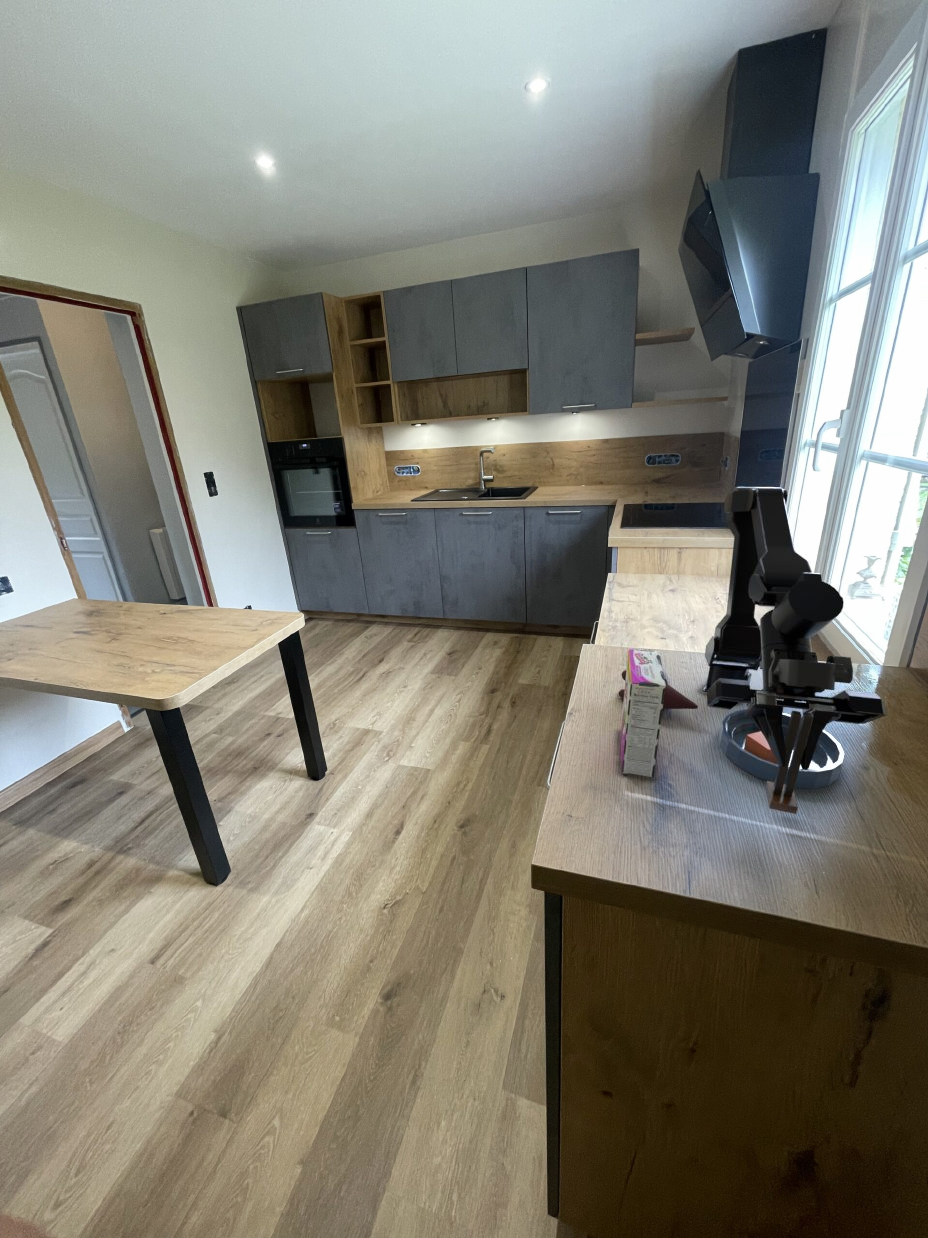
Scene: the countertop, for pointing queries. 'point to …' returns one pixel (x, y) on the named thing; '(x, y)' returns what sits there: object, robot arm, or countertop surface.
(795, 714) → the dark brown forked stand
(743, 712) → the bowl
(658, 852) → the countertop surface
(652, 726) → the candy bar box
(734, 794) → the countertop surface
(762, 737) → the block
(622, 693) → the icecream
